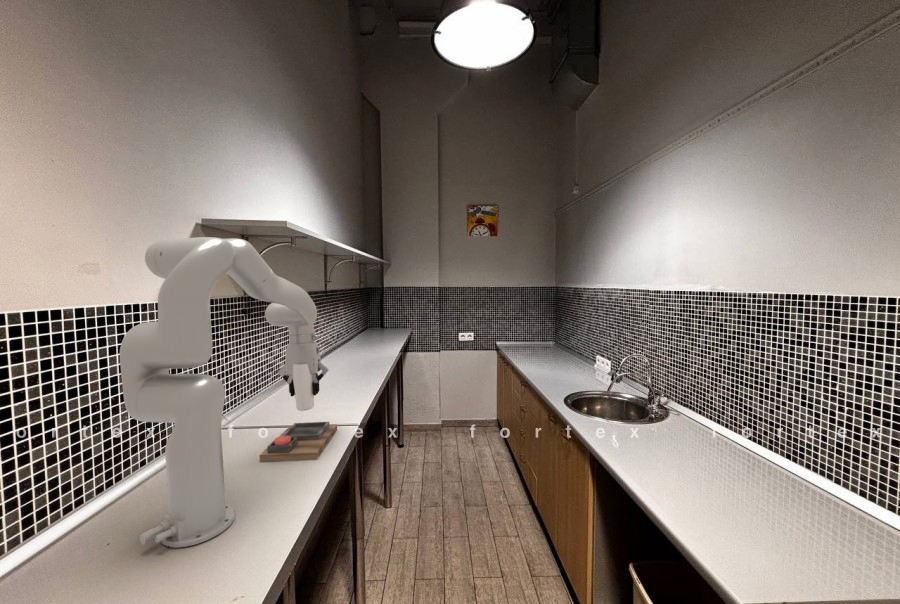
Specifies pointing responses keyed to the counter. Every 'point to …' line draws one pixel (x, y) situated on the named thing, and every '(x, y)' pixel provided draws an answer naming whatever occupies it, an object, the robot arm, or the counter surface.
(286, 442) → the button
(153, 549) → the counter surface
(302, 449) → the brown flat wooden board
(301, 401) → the drinking glass
